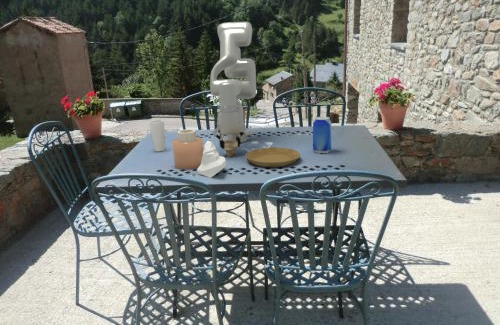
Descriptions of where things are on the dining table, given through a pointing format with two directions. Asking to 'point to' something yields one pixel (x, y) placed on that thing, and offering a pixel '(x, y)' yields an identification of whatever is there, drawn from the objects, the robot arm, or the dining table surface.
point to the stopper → (230, 147)
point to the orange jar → (187, 149)
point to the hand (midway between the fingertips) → (230, 146)
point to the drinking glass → (158, 134)
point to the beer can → (322, 135)
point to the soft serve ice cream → (211, 161)
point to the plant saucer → (272, 156)
